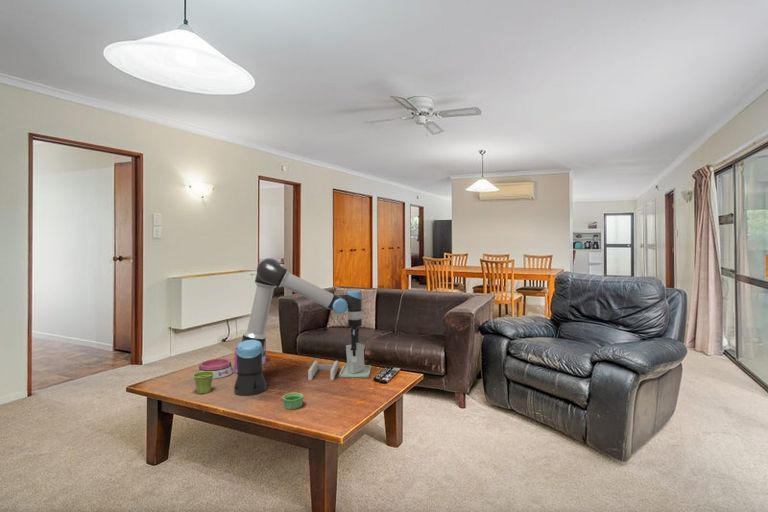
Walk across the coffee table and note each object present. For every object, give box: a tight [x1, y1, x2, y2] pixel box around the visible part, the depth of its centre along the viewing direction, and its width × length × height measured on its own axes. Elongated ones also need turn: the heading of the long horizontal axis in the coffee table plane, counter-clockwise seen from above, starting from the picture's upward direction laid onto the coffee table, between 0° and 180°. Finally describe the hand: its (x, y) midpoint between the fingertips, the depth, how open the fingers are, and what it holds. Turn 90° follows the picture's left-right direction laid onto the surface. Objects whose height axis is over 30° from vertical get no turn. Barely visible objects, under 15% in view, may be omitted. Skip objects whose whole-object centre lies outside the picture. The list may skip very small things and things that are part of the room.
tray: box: [338, 364, 372, 379], centre depth 231 cm, size 18×16×2 cm
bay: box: [307, 360, 340, 381], centre depth 229 cm, size 20×13×5 cm
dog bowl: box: [197, 358, 234, 380], centre depth 231 cm, size 18×19×7 cm
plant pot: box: [192, 371, 214, 395], centre depth 204 cm, size 9×9×9 cm
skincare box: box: [345, 342, 366, 374], centre depth 231 cm, size 8×6×15 cm
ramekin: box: [282, 392, 304, 410], centre depth 185 cm, size 9×9×4 cm
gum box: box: [233, 340, 267, 374], centre depth 243 cm, size 24×8×14 cm, turn 168°
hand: (355, 359), depth 231 cm, fingers closed on skincare box, 9 cm apart
